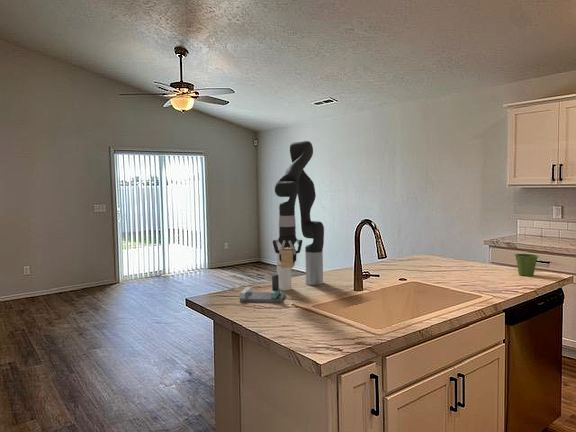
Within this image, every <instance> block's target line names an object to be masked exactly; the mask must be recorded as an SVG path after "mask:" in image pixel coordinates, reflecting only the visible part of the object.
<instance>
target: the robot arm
mask: <svg viewBox="0 0 576 432" xmlns="http://www.w3.org/2000/svg"><path fill="white" fill-rule="evenodd" d="M313 147H314V146H313V144H312V143H311V141H309V140H304V141H297V142H296V141H295V142H292V143H290V146H289V155H290V159H291V163H290V164H289V165H288V167H287V168H286V171H285V172H284V175H282V177H280V178H279V180H277V182H276V183H275V186H274V193H275V195H276V196H277V197H278V198H279V197H280V198H289V199H288V200H287V201H283V202H281V203H279V205H278V206H279V207H278V209H279V210H278V211H279V212H278V213H279V214H278V215H279V217H278V236H279V237H278V239H274V240H272V245H273V248H274V252H275V254H277V253H278V254H279V260H280V261H281V250H283V249H284V248H286V247H288V248H291V250H293V263H295V264H296V262H297V254H300V252H302V251H301V250H302V246H303V241H304V240H303V239H297V235H296V233H297V231H296V229H297V227H296V216H295V215H296V212H295V207H296V201H297V198H298V203H299V204H298V205H299V213H300V214H299V215H300V225H301V226H300V227H301V233H302V236H303V237H304V238H305V239H312V243H311V244H308V245H306V246H304V247H305V249H304V252H305V253H304V255H305V285H309V286H320V285H323V284H324V256H323V255H324V251H323V250H324V242H325V241H324V240H325V226H324V224H323V222H321V221H319V220H318V221H317V220H311V209H312V208H313V205H314V203H315V201H316V188H315V184H314V182H313V179H311V177H310V176H309V175H308V174H307V173H306V171H305V170H304V169H305V167H306V166H307V165H308V163H309V162H310V161H311V159H312V158H313V155H314V148H313ZM278 241H279V242H280V244H281V245H282V246H281V248H280V251H279V250H278V246H277V244H278ZM296 243H297V249H296V246H295V244H296Z"/></svg>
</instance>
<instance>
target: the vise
mask: <svg viewBox="0 0 576 432" xmlns="http://www.w3.org/2000/svg"><path fill="white" fill-rule="evenodd" d="M252 289H253V288H252V286H245V287H244V289H243V290H242V291H240V292H239V302H240V303H270V304H271V303H274V304H275V303H277V304H281V303H282V302H283V300H285V298H286V293H285V292H280V294H279V295H278V296H277V298H271V294H270V293H271V292H270V291H269V292H268V291H265V292H262V291H258V292H257V291H252Z"/></svg>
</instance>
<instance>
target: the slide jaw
mask: <svg viewBox="0 0 576 432" xmlns="http://www.w3.org/2000/svg"><path fill="white" fill-rule="evenodd" d="M271 285H272V287H271V292H270V294H271V298H277V296H278V295H279V294H280V293H281V290H280V287H279V276H278V275H277V273H276V274H272V275H271Z"/></svg>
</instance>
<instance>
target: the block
mask: <svg viewBox="0 0 576 432" xmlns="http://www.w3.org/2000/svg"><path fill="white" fill-rule="evenodd" d="M295 264H296V262H295V263H293V250H291V248H284V249H283V250H281V268H291V269H294V267H295V266H296V265H295Z"/></svg>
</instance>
